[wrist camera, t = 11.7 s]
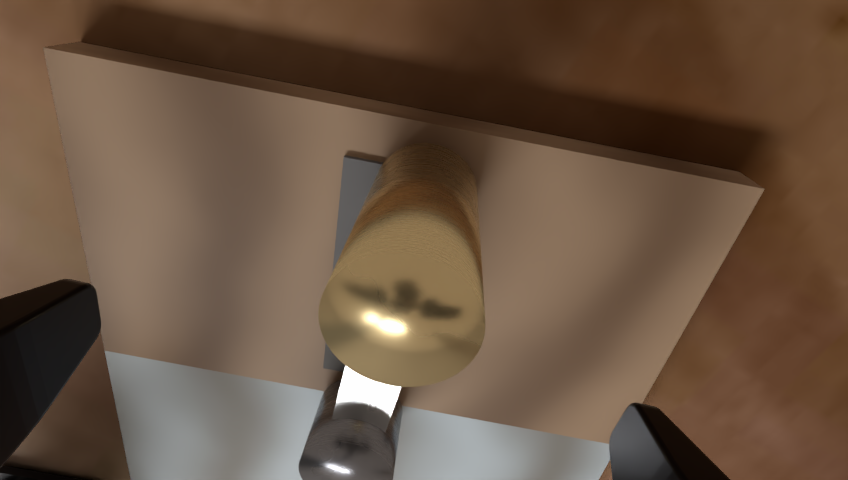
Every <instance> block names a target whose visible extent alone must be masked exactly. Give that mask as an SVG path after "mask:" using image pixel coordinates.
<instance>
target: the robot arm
mask: <svg viewBox="0 0 848 480" xmlns="http://www.w3.org/2000/svg"><path fill="white" fill-rule="evenodd" d="M100 329H101V317H100V310H99V304H98V298H97V292H96V289H95V288H94V286H93V285H91V284H89V283H85V282H80V281H76V280H71V279H63V280H59V281H56V282H53V283H50V284H46V285H43V286H40V287H37V288H34V289H30V290H27V291H24V292H21V293H18V294H14V295H11V296H8V297H5V298H1V299H0V480H80V479H75V478H69V477H64V476H58V475H53V474H47V473H41V472H36V471H30V470H25V469H19V468H14V467H8V466H3V464H4V463H5V462H6V461H7V460H8V458H9V457H10V456H11V455H12V454H13V452H14V451H15V450H16V449H17V448H18V447H19V445H20V444H21V443H22V442H23V441H24V439H25V438H26V437H27V436H28V435H29V433H30V432H31V431H32V430H33V428H34V427H35V426H36V425H37V423H38V422H39V421H40V420H41V418H42V417H43V415H44V414H45V413H46V411H47V410H48V409H49V407H50V406H51V404H52V403H53V401H54V400H55V399H56V397H57V396H58V394H59V393H60V391H61V390H62V388H63V387H64V385H65V384H66V382H67V381H68V380H69V378H70V377H71V375H72V374H73V372H74V371H75V369H76V368H77V366H78V365H79V364H80V362H81V361H82V359H83V358H84V356H85V355H86V353H87V352H88V350H89V349H90V347H91V346H92V345H93V343H94V342H95V340H96V339H97V337H98V335H99V333H100ZM609 451H610V460H611V469H612V478H613V480H730V479H729V478H728V477H727V476H726V475H725V474H724V473H723V472H722V471H721V470H720V469H719V468H718V467H717V466H716V465H715V464H714V463H713V462H712V461H711V460H710V459H709V458H708V457H707V456H706V455H705V454H704V453H703V452H702V451H701V450H700V449H699V448H698V447H697V446H696V445H695V444H694V443H693V442H692V441H691V440H690V439H689V438H688V437H687V436H686V435H685V434H684V433H683V432H682V431H681V430H680V429H679V428H678V427H677V426H676V425H675V424H674V423H673V422H672V421H671V420H670V419H669V418H668V417H667V416H666V415H665V414H664V413H663V412H662V411H661V410H660V409H658V408H657V407H654V406H651V405H646V404H641V403H631V404H630V405H628V407H627V408H626V410H625V411H624V413H623V415H622V416H621V418H620V420H619V421H618V423H617V425H616V426H615V428H614V429H613V431H612V433H611V436H610V440H609Z"/></svg>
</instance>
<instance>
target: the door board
mask: <svg viewBox="0 0 848 480" xmlns="http://www.w3.org/2000/svg"><path fill="white" fill-rule="evenodd" d="M43 50H44V55H45V60H46V65H47V70H48V74H49V79H50V84H51V89H52V94H53V99H54V104H55V109H56V114H57V119H58V124H59V129H60V134H61V138H62V143H63V148H64V153H65V158H66V163H67V168H68V173H69V178H70V183H71V188H72V193H73V198H74V203H75V207H76V212H77V217H78V222H79V227H80V232H81V237H82V242H83V247H84V252H85V257H86V262H87V267H88V271H89V276H90V281H91V285H93V286H94V288H95V289H96V292H97V298H98V304H99V310H100V317H101V329H100V331H101V336H102V340H103V345H104V350H105V355H106V360H107V365H108V370H109V375H110V380H111V385H112V390H113V395H114V400H115V405H116V409H117V414H118V419H119V424H120V429H121V434H122V439H123V444H124V449H125V454H126V459H127V464H128V469H129V473H130V478H131V480H302V478H301V476H300V473H299V461H300V458H301V455H302V453H303V450H304V447H305V444H306V441H307V438H308V435H309V432H310V429H311V426H312V424H313V421H314V418H315V415H316V412H317V409H318V406H319V403H320V400H321V397H322V395H323V393H324V391H325V390H326V388H327V387H328V386H330V385H331V384H332V383H334V382H336V381H338V380H341V379H342V377H343V373H344V370H345V366H346V365H344V364H343V363H342V362H341V361H340V360H339V359H338V358H337V357H336V356H335V355H334V354H333V353H332V351H331V350H330V348H329V347H328V345H327V344H326V342H325V340H324V338H323V335H322V333H321V330H320V325H319V316H318V311H319V303H320V300H321V297H322V294H323V292H324V290H325V287H326V285H327V283H328V281H329V279H330V277H331V274H332V272H333V270H334V268H335V266H336V263H337V261H338V259H339V257H340V255H341V252H342V250H343V248H344V246H345V244H346V242H347V239H348V237H349V235H350V233H351V231H352V228H353V226H354V224H355V222H356V220H357V217H358V215H359V213H360V211H361V209H362V207H363V204H364V202H365V200H366V198H367V196H368V193H369V191H370V189H371V187H372V185H373V182H374V180H375V178H376V176H377V174H378V172H379V169H380V167H381V166H382V164H383V163H384V162H385V160H386V159H387V158H388V157H389V156H390V155H392V154H393V153H394V152H396V151H397V150H399V149H401V148H403V147H405V146H409V145H412V144H418V143H431V144H437V145H441V146H443V147H446V148H448V149H450V150H452V151H454V152H455V153H457V154H458V155H459V156H460V157H462V158H463V159H464V160H465V162H466V163H467V164H468V165H469V167H470V168H471V170H472V172H473V174H474V177H475V180H476V184H477V195H478V211H479V227H480V243H481V259H482V275H483V291H484V307H485V335H484V340H483V343H482V346H481V348H480V350H479V352H478V353H477V355H476V356H475V358H474V359H473V360H472V362H471V363H470V364H469V365H468V366H467V367H466V368H464V369H463V370H462V371H460V372H459V373H457V374H456V375H454V376H452V377H451V378H448V379H446V380H444V381H441V382H438V383H435V384H431V385H426V386H418V387H401V389H400V392H399V395H398V398H399V400H400V402H401V405H402V410H403V412H402V420H401V427H400V434H399V441H398V448H397V455H396V462H395V469H394V476H393V480H599V478H600V476H601V474H602V473H603V471H604V469H605V467H606V466H607V464H608V462H609V460H610V451H609V440H610V436H611V433H612V431H613V429H614V428H615V426H616V425H617V423H618V421H619V420H620V418H621V416H622V415H623V413H624V411H625V410H626V408H627V407H628V405H630V404H631V403H641V404H642V403H643V401H644V399H645V397H646V396H647V394H648V392H649V390H650V389H651V387H652V385H653V383H654V382H655V380H656V378H657V376H658V375H659V373H660V371H661V369H662V368H663V366H664V364H665V362H666V361H667V359H668V357H669V355H670V354H671V352H672V350H673V348H674V347H675V345H676V343H677V341H678V340H679V338H680V336H681V334H682V333H683V331H684V329H685V327H686V326H687V324H688V322H689V320H690V319H691V317H692V315H693V313H694V312H695V310H696V308H697V306H698V305H699V303H700V301H701V299H702V298H703V296H704V294H705V292H706V291H707V289H708V287H709V285H710V284H711V282H712V280H713V278H714V277H715V275H716V273H717V271H718V270H719V268H720V266H721V264H722V263H723V261H724V259H725V257H726V256H727V254H728V252H729V250H730V249H731V247H732V245H733V243H734V242H735V240H736V238H737V236H738V235H739V233H740V231H741V229H742V228H743V226H744V224H745V222H746V221H747V219H748V217H749V215H750V214H751V212H752V210H753V208H754V207H755V205H756V203H757V201H758V200H759V198H760V196H761V194H762V193H763V191H764V188H762V187H761V186H759V185H758V184H757V183H755V182H754V181H752V180H751V179H749V178H748V177H746V176H745V175H743V174H742V173H740V172H738V171H733V170H728V169H723V168H718V167H713V166H708V165H702V164H697V163H692V162H687V161H682V160H677V159H672V158H667V157H662V156H657V155H652V154H647V153H641V152H636V151H631V150H626V149H621V148H616V147H611V146H606V145H601V144H596V143H591V142H586V141H581V140H575V139H570V138H565V137H560V136H555V135H550V134H545V133H540V132H535V131H530V130H525V129H520V128H514V127H509V126H504V125H499V124H494V123H489V122H484V121H479V120H474V119H469V118H464V117H459V116H454V115H448V114H443V113H438V112H433V111H428V110H423V109H418V108H413V107H408V106H403V105H398V104H393V103H387V102H382V101H377V100H372V99H367V98H362V97H357V96H352V95H347V94H342V93H337V92H332V91H327V90H321V89H316V88H311V87H306V86H301V85H296V84H291V83H286V82H281V81H276V80H271V79H266V78H260V77H255V76H250V75H245V74H240V73H235V72H230V71H225V70H220V69H215V68H210V67H205V66H200V65H194V64H189V63H184V62H179V61H174V60H169V59H164V58H159V57H154V56H149V55H144V54H139V53H133V52H128V51H123V50H118V49H113V48H108V47H103V46H98V45H93V44H88V43H83V42H75V43H68V44H62V45H55V46H48V47H43Z"/></svg>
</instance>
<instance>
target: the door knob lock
mask: <svg viewBox="0 0 848 480" xmlns="http://www.w3.org/2000/svg"><path fill="white" fill-rule="evenodd" d="M318 316H319V325H320V330H321V333H322V335H323V338H324V340H325V342H326V344H327V345H328V347H329V348H330V350H331V351H332V353H333V354H334V355H335V356H336V357H337V358H338V359H339V360H340V361H341V362H342V363H343V364H344V365H346V366H345V370H344V373H343V377H342V379H341V380H338V381H336V382H334V383H332V384H331V385H330V386H328V387H327V388H326V390H325V391H324V393H323V395H322V397H321V400H320V403H319V406H318V409H317V412H316V415H315V418H314V421H313V424H312V426H311V429H310V432H309V435H308V438H307V441H306V444H305V447H304V450H303V453H302V455H301V458H300V461H299V473H300V476H301V478H302V480H393V476H394V469H395V462H396V455H397V448H398V441H399V434H400V427H401V420H402V412H403V410H402V405H401V402H400V400H399V398H398V395H399V392H400V389H401V387H418V386H426V385H431V384H435V383H438V382H441V381H444V380H446V379H448V378H451V377H452V376H454V375H456V374H457V373H459V372H460V371H462V370H463V369H464V368H466V367H467V366H468V365H469V364H470V363H471V362H472V360H473V359H474V358H475V356H476V355H477V353H478V352H479V350H480V348H481V346H482V343H483V340H484V335H485V307H484V291H483V275H482V259H481V243H480V227H479V211H478V195H477V184H476V180H475V177H474V174H473V172H472V170H471V168H470V167H469V165H468V164H467V163H466V162H465V160H464V159H463V158H462V157H460V156H459V155H458V154H457V153H455V152H454V151H452V150H450V149H448V148H446V147H443V146H441V145H437V144H431V143H418V144H412V145H409V146H405V147H403V148H401V149H399V150H397V151H396V152H394V153H393V154H392V155H390V156H389V157H388V158H387V159H386V160H385V162H384V163H383V164H382V166H381V167H380V169H379V172H378V174H377V176H376V178H375V180H374V182H373V185H372V187H371V189H370V191H369V193H368V196H367V198H366V200H365V202H364V204H363V207H362V209H361V211H360V213H359V215H358V217H357V220H356V222H355V224H354V226H353V228H352V231H351V233H350V235H349V237H348V239H347V242H346V244H345V246H344V248H343V250H342V252H341V255H340V257H339V259H338V261H337V263H336V266H335V268H334V270H333V272H332V274H331V277H330V279H329V281H328V283H327V285H326V287H325V290H324V292H323V294H322V297H321V300H320V303H319V311H318Z"/></svg>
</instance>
